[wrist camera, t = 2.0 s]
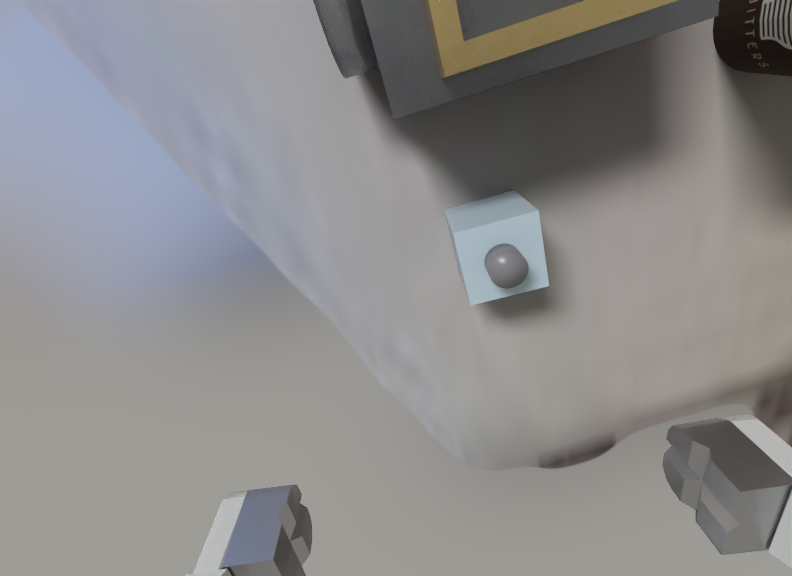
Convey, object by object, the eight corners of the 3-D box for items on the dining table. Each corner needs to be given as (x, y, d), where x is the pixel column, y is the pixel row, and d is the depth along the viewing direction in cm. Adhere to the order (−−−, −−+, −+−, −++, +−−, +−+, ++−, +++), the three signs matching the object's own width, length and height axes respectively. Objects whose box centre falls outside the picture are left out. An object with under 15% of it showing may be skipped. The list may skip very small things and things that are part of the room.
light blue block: (513, 189, 28) (547, 217, 21) (524, 254, 30) (558, 297, 23) (443, 209, 28) (456, 242, 22) (458, 271, 30) (474, 318, 24)
